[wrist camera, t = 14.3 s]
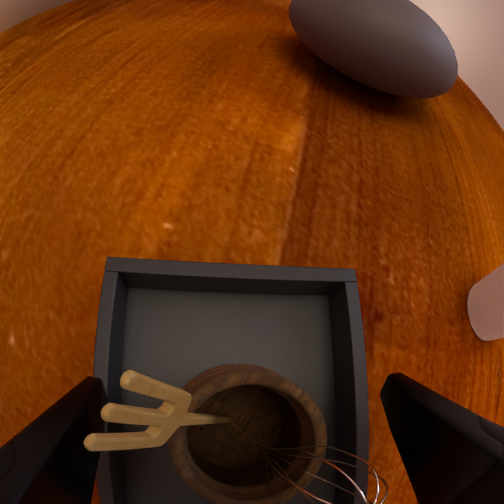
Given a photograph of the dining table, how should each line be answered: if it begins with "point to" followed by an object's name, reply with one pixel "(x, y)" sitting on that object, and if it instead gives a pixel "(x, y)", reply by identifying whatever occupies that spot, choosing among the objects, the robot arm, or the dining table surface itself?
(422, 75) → the smooth stone
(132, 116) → the dining table surface
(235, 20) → the dining table surface
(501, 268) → the shot glass
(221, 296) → the baking tray
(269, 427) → the utensil holder
